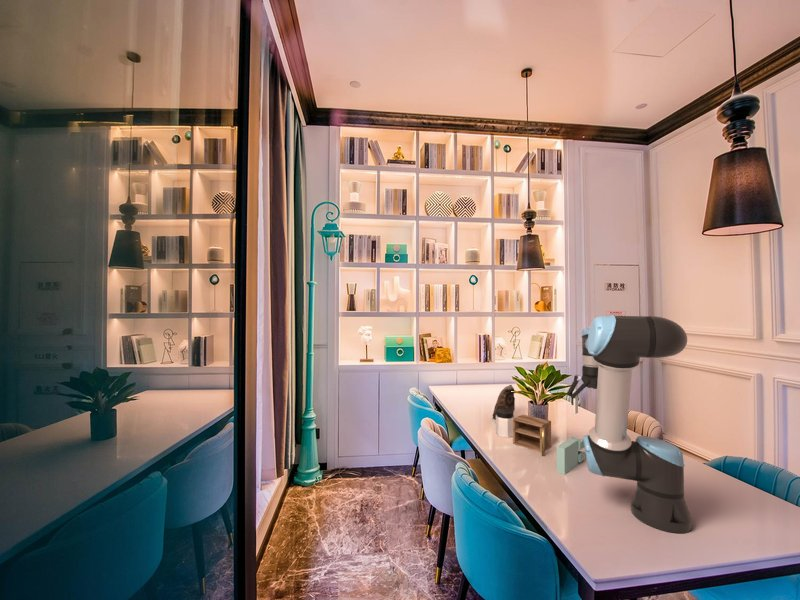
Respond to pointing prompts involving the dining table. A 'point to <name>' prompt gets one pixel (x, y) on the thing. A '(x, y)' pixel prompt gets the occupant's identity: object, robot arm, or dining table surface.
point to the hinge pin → (543, 441)
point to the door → (569, 454)
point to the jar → (504, 423)
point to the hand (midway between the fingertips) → (592, 417)
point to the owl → (505, 400)
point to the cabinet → (531, 432)
